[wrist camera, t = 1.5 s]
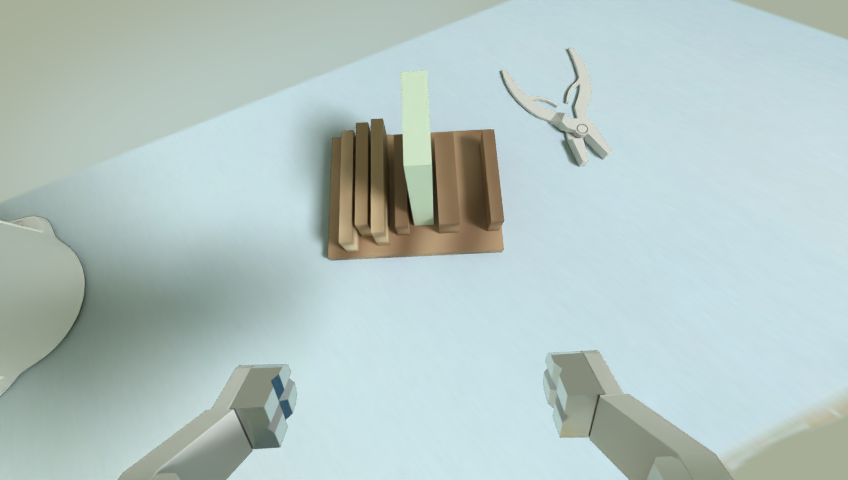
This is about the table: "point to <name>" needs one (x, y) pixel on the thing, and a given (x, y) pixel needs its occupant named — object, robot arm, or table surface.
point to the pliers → (572, 127)
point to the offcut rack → (390, 204)
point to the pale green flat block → (417, 145)
